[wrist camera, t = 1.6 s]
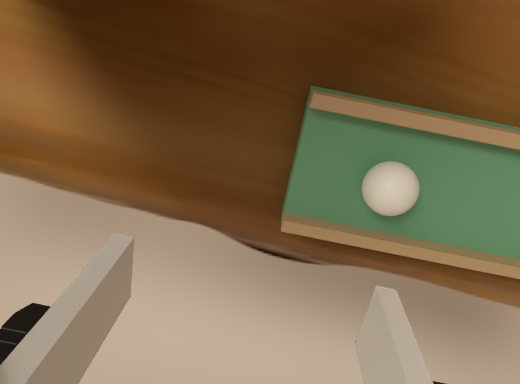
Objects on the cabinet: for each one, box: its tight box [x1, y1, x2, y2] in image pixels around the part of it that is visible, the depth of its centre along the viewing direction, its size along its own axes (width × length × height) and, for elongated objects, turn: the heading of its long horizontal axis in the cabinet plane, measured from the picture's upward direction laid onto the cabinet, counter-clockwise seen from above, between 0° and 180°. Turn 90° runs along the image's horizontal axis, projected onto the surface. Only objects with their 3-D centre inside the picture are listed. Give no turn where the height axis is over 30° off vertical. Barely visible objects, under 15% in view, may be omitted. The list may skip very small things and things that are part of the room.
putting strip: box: [281, 85, 520, 279], centre depth 31 cm, size 11×34×4 cm, turn 79°
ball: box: [362, 161, 420, 216], centre depth 29 cm, size 4×4×4 cm
